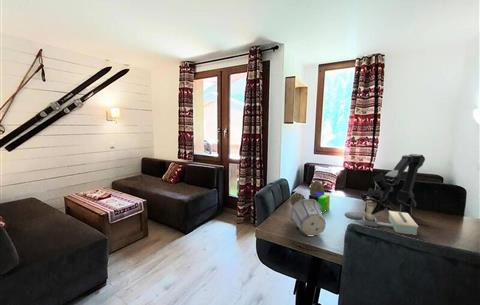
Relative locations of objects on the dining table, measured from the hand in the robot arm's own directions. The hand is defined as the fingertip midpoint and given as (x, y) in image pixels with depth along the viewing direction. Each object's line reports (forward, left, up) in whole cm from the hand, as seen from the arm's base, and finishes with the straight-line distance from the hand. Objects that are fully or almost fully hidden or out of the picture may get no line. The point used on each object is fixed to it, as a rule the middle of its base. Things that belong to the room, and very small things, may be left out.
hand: (368, 212), depth 129 cm
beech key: (-1, +1, -7) cm, 7 cm away
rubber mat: (-9, -7, -7) cm, 13 cm away
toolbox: (-3, +10, -7) cm, 12 cm away
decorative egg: (-33, -31, -7) cm, 46 cm away
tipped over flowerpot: (+17, -34, -7) cm, 39 cm away
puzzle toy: (-13, -28, -7) cm, 32 cm away
